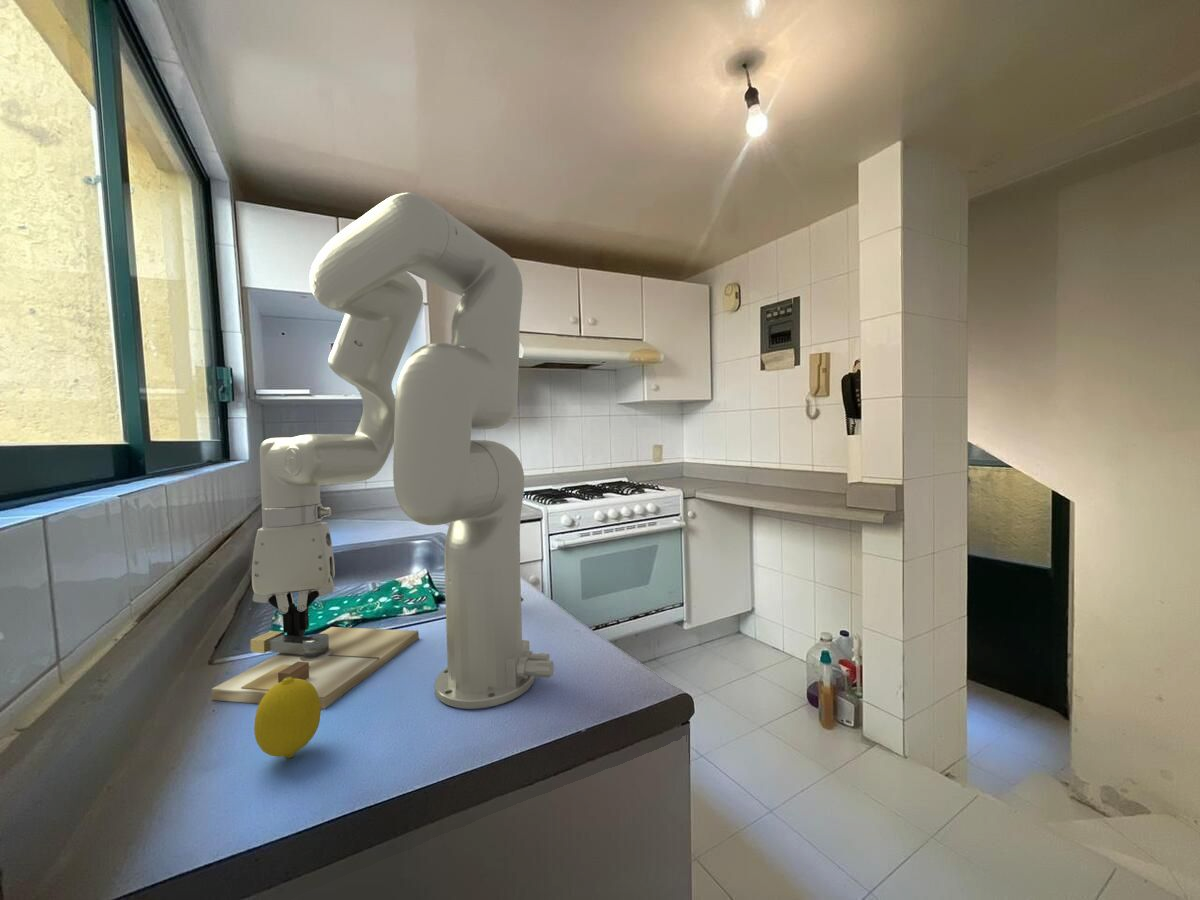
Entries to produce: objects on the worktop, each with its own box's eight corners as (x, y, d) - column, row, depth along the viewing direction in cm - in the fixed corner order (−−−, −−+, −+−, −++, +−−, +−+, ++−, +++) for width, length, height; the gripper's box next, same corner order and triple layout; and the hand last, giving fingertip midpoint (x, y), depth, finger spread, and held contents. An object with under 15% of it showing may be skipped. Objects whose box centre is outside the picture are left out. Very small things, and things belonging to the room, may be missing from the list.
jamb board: (418, 638, 74) (418, 617, 74) (324, 708, 54) (323, 680, 54) (331, 633, 77) (331, 613, 77) (212, 699, 57) (211, 672, 57)
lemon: (289, 780, 43) (286, 695, 42) (240, 773, 44) (238, 690, 44) (334, 742, 48) (332, 666, 48) (290, 736, 49) (288, 663, 49)
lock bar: (334, 647, 67) (333, 634, 67) (316, 657, 64) (315, 643, 64) (271, 642, 69) (270, 629, 69) (250, 651, 66) (250, 638, 66)
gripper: (351, 510, 76) (355, 619, 76) (245, 517, 71) (249, 633, 71) (341, 516, 69) (345, 637, 69) (222, 525, 64) (227, 654, 64)
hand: (296, 635), depth 70 cm, fingers closed
